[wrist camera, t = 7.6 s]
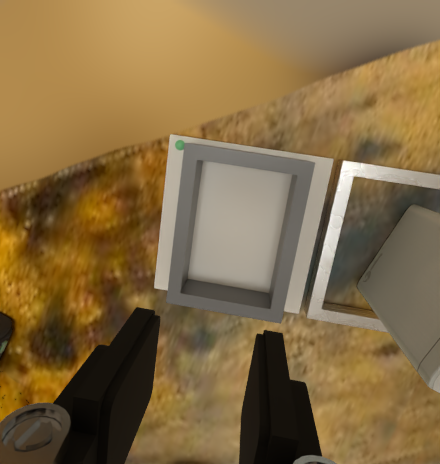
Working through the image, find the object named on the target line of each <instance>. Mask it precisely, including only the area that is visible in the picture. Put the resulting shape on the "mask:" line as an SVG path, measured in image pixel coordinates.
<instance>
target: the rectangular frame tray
mask: <svg viewBox="0 0 440 464" xmlns="http://www.w3.org/2000/svg"><path fill="white" fill-rule="evenodd" d="M354 176H356V177H363V178H369V179H376V180H382V181H389V182H395V183H402V184H408V185H415V186H421V187H428V188H434V189H440V175H437V174H430V173H424V172H417V171H411V170H404V169H397V168H391V167H384V166H377V165H371V164H364V163H358V162H351V161H344V160H339V161H338V165H337V169H336V174H335V178H334V182H333V187H332V191H331V195H330V200H329V204H328V209H327V213H326V217H325V222H324V226H323V230H322V235H321V239H320V243H319V248H318V252H317V256H316V261H315V265H314V269H313V274H312V278H311V282H310V287H309V291H308V295H307V300H306V304H305V308H304V311H305V314H306V317H307V318H309V319H315V320H321V321H326V322H332V323H337V324H343V325H349V326H354V327H360V328H365V329H371V330H376V331H382V332H388V330H387V329H386V328H385V326H384V325H383V323H382V322H381V321H380V319H379V318H378V317H377V315H376V314H375V312H374V311H370V310H364V309H359V308H353V307H347V306H342V305H336V304H330V303H325V302H323V300H324V296H325V292H326V288H327V284H328V280H329V276H330V272H331V268H332V264H333V260H334V255H335V251H336V247H337V243H338V239H339V235H340V231H341V227H342V223H343V219H344V214H345V210H346V206H347V202H348V198H349V194H350V190H351V186H352V182H353V178H354ZM388 333H389V332H388Z"/></svg>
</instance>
